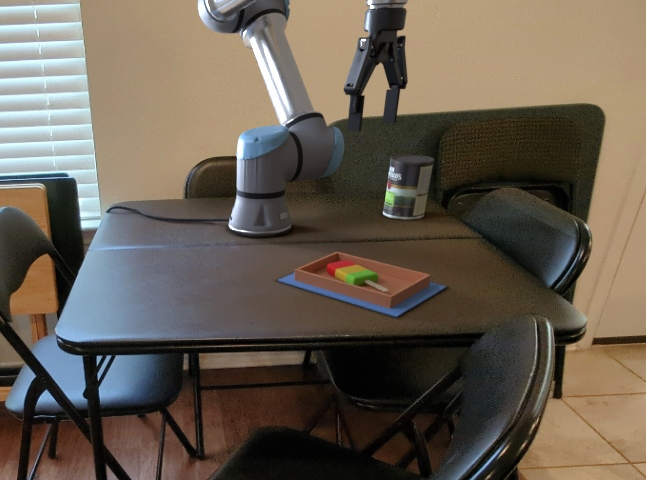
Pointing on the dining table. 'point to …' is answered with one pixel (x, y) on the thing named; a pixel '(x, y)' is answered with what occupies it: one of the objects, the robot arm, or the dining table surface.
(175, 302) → the dining table surface
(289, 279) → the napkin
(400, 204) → the coffee can
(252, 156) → the robot arm
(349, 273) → the popsicle
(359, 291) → the tray
